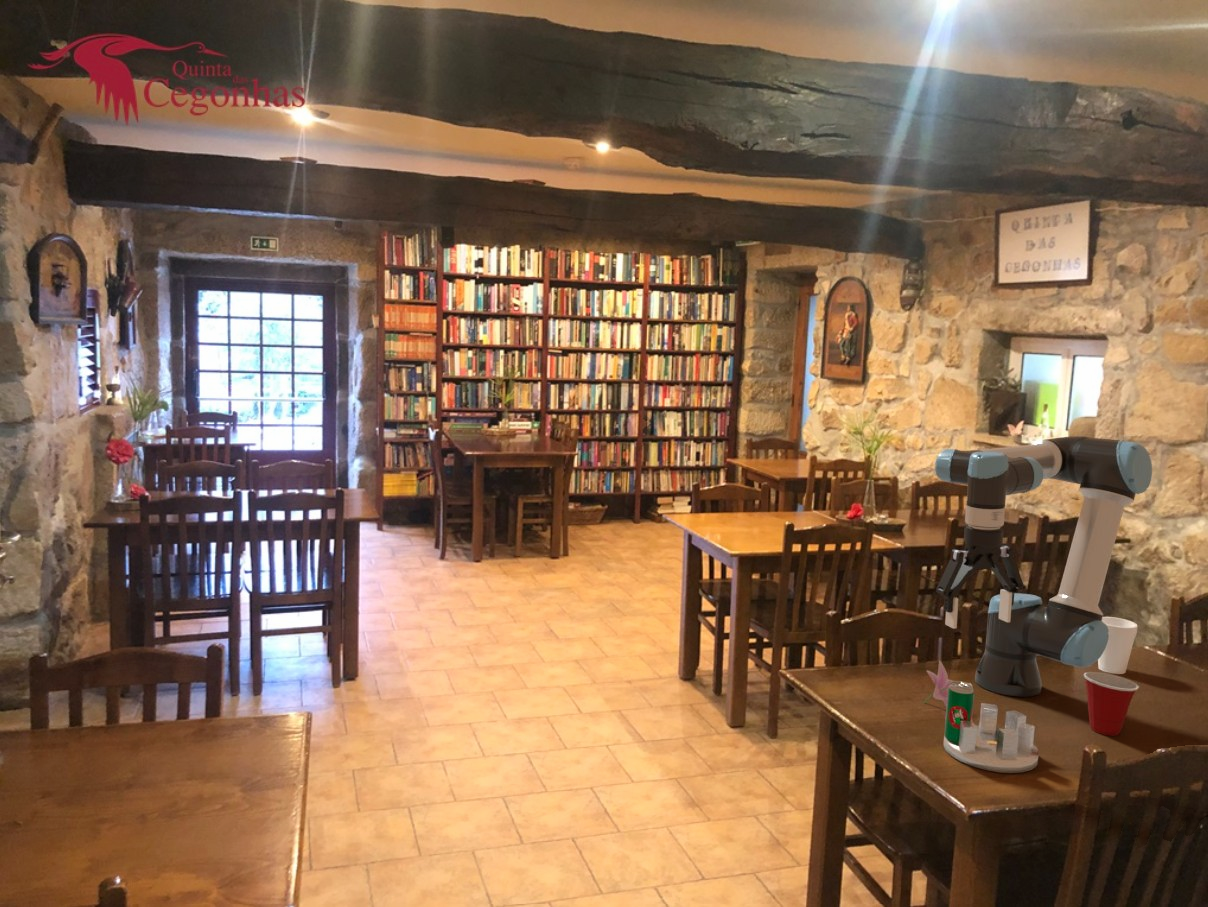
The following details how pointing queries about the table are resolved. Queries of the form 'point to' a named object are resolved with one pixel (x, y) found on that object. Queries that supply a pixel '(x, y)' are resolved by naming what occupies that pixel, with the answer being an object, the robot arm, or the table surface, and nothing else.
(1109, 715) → the plastic cup
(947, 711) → the soda can
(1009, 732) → the round white pillared stand
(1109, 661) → the foam cup
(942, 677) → the lily
